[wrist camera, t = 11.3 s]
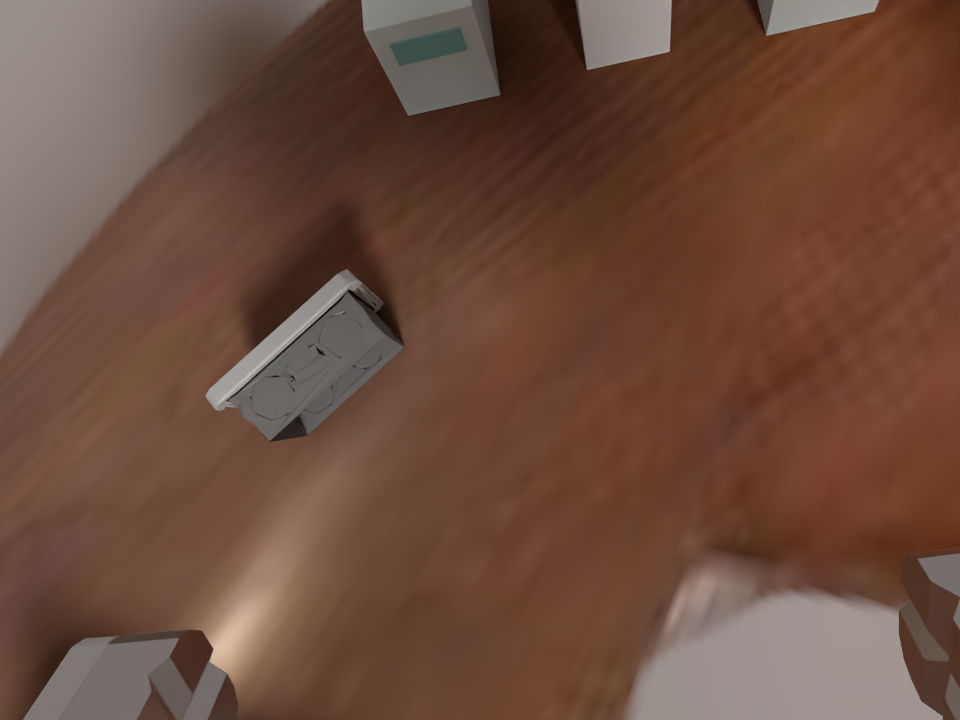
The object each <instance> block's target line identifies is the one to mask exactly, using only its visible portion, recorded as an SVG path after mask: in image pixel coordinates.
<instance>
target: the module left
mask: <svg viewBox="0 0 960 720" xmlns="http://www.w3.org/2000/svg"><path fill="white" fill-rule="evenodd" d="M362 13H363V27H364V33H365V35H366V37H367V39H368V41H369V43H370V45H371V46H372V48H373V50H374V52H375V54H376V56H377V58H378V60H379V62H380V63H381V65H382V67H383V69H384V71H385V73H386V75H387V77H388V79H389V80H390V82H391V84H392V86H393V88H394V90H395V92H396V94H397V95H398V97H399V99H400V101H401V103H402V105H403V107H404V109H405V111H406V112H407V114H408V116H410V115H414V114H419V113H423V112H428V111H432V110H437V109H441V108H446V107H450V106H455V105H459V104H463V103H468V102H472V101H477V100H481V99H486V98H490V97H495V96H499V95H500V90H499V82H498V75H497V67H496V59H495V52H494V44H493V36H492V29H491V21H490V13H489V6H488V0H362Z"/></svg>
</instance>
